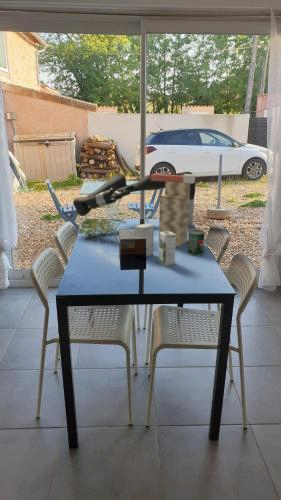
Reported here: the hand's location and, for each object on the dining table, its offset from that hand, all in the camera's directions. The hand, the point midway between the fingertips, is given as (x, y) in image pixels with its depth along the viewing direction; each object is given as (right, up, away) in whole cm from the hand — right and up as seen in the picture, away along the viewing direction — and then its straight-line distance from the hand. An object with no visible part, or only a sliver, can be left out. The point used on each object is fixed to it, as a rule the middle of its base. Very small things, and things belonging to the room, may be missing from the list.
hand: (131, 189), depth 199 cm
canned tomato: (+32, -34, -13) cm, 48 cm away
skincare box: (+6, -35, -16) cm, 39 cm away
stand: (+22, -28, +3) cm, 36 cm away
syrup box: (+17, -39, -27) cm, 50 cm away
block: (+21, +4, -2) cm, 22 cm away
